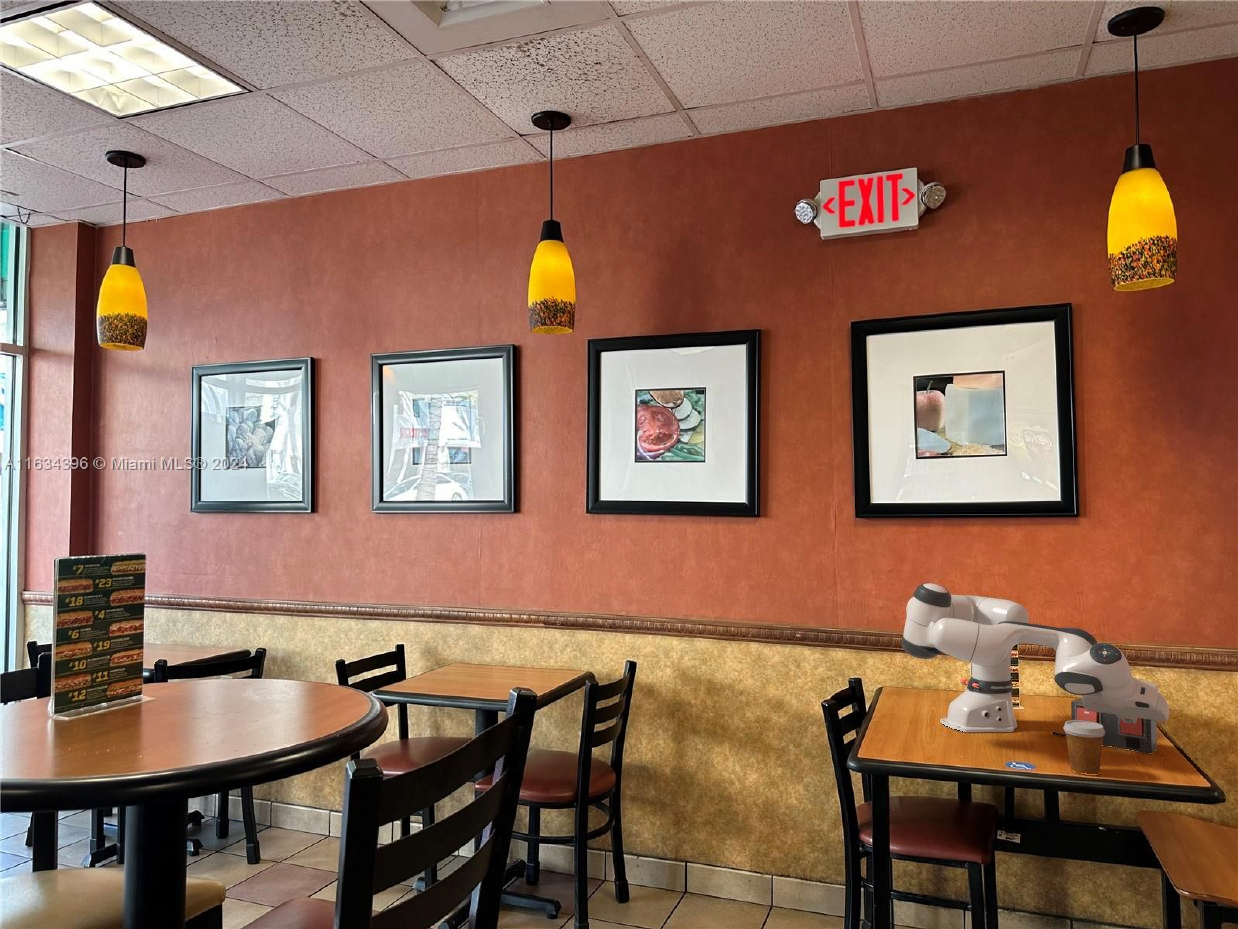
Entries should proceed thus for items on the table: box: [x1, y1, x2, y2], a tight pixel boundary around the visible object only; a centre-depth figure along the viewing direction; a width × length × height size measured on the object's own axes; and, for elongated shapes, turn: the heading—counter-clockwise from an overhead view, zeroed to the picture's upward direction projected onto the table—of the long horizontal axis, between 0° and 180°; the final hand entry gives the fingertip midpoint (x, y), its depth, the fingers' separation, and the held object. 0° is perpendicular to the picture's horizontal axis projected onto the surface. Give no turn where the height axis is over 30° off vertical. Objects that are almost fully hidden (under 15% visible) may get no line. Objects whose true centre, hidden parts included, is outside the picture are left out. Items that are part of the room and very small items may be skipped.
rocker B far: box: [1120, 718, 1142, 736], centre depth 240 cm, size 5×1×5 cm, turn 47°
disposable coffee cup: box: [1062, 719, 1105, 774], centre depth 223 cm, size 10×10×12 cm
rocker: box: [1077, 707, 1098, 723], centre depth 247 cm, size 5×1×5 cm, turn 47°
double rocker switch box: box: [1052, 697, 1158, 754], centre depth 248 cm, size 26×7×11 cm, turn 47°
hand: (1130, 721), depth 239 cm, fingers closed, pressing on rocker B far
